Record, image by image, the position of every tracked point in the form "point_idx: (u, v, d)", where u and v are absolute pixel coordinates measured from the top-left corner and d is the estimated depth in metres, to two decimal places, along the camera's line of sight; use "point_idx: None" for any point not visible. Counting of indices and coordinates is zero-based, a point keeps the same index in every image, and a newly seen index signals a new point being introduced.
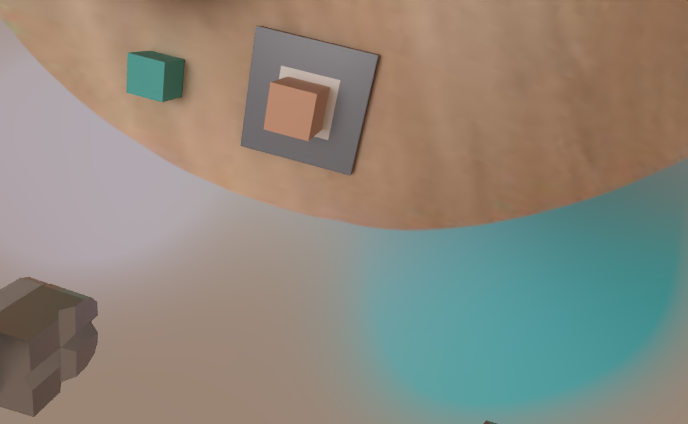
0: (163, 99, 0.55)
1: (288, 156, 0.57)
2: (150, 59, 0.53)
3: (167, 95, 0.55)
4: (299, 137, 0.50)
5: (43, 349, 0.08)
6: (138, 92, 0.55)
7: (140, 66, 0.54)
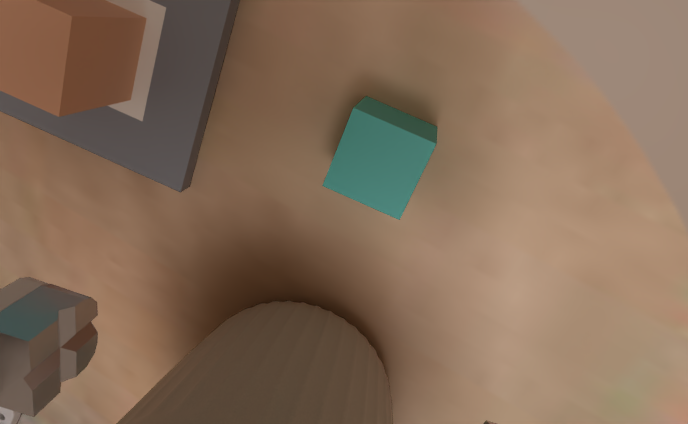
0: (352, 111, 0.24)
1: None
2: (352, 197, 0.25)
3: None
4: None
5: (43, 349, 0.08)
6: (405, 138, 0.24)
7: (381, 189, 0.25)
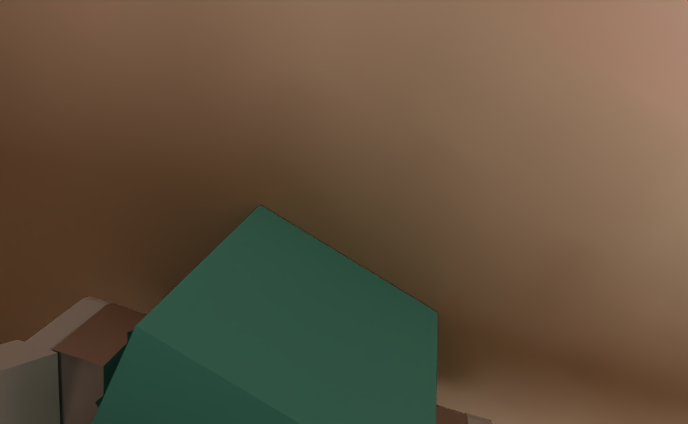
0: (140, 327, 0.06)
1: None
2: None
3: None
4: None
5: (114, 372, 0.08)
6: None
7: None
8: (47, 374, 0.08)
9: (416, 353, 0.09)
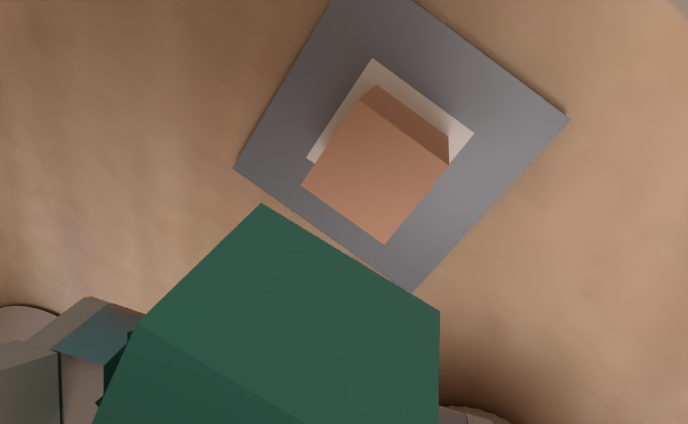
0: (142, 325, 0.06)
1: (474, 54, 0.25)
2: None
3: None
4: (374, 115, 0.21)
5: None
6: None
7: None
8: (47, 374, 0.08)
9: (418, 351, 0.09)
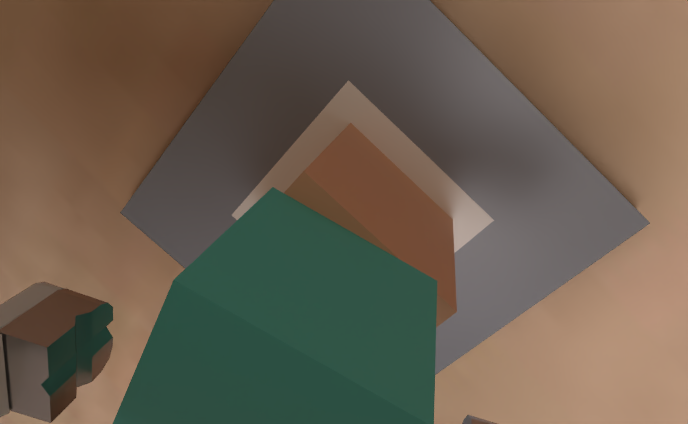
0: (176, 283, 0.07)
1: (514, 99, 0.15)
2: None
3: None
4: (331, 204, 0.11)
5: (61, 355, 0.08)
6: (336, 394, 0.07)
7: None
8: None
9: (417, 312, 0.10)
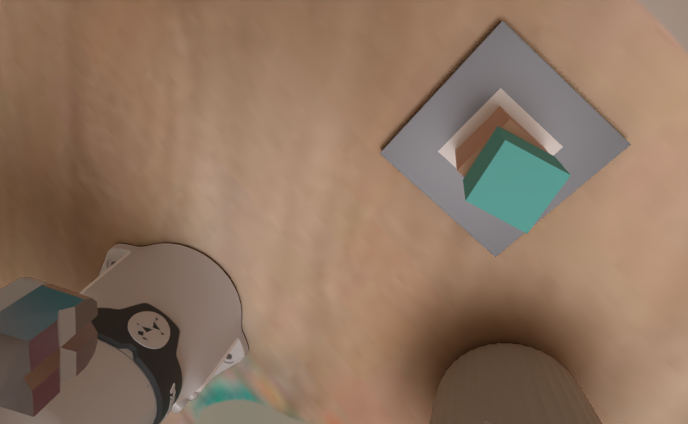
0: (502, 142, 0.29)
1: (572, 94, 0.37)
2: (490, 211, 0.31)
3: (497, 145, 0.30)
4: (518, 130, 0.33)
5: (43, 349, 0.08)
6: (545, 168, 0.29)
7: (516, 207, 0.30)
8: None
9: (554, 160, 0.31)
